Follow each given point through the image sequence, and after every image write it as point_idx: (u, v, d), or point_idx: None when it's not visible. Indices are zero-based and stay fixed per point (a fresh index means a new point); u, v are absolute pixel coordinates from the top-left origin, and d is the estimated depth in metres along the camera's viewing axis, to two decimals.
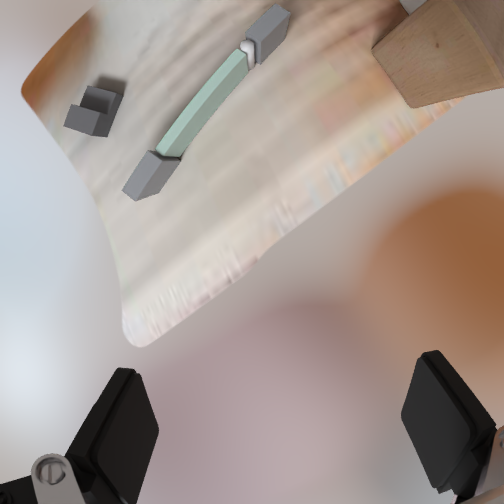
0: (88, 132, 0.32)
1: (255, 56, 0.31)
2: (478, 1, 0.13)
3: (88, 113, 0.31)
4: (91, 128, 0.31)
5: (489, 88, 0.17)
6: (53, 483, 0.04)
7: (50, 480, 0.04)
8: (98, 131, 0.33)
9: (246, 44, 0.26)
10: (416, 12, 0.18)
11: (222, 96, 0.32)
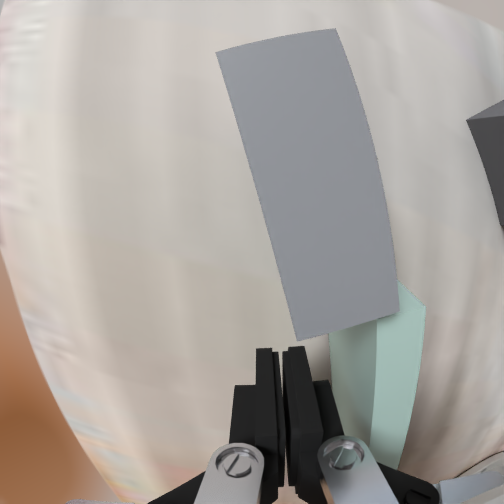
0: None
1: None
2: None
3: None
4: None
5: None
6: (230, 473, 0.06)
7: (229, 469, 0.06)
8: None
9: None
10: None
11: None
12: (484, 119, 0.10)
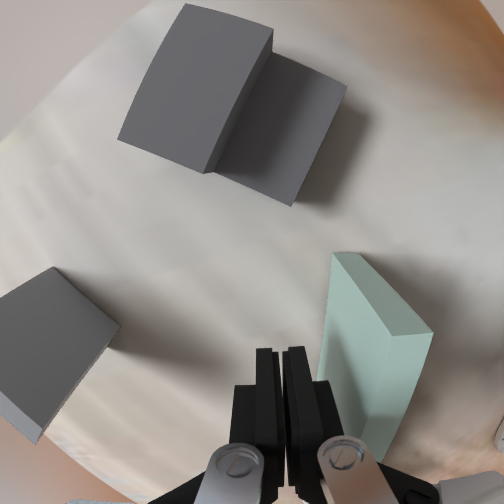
0: (130, 122, 0.08)
1: None
2: None
3: (210, 114, 0.08)
4: (143, 135, 0.08)
5: None
6: (230, 473, 0.06)
7: (229, 468, 0.06)
8: None
9: None
10: None
11: None
12: None
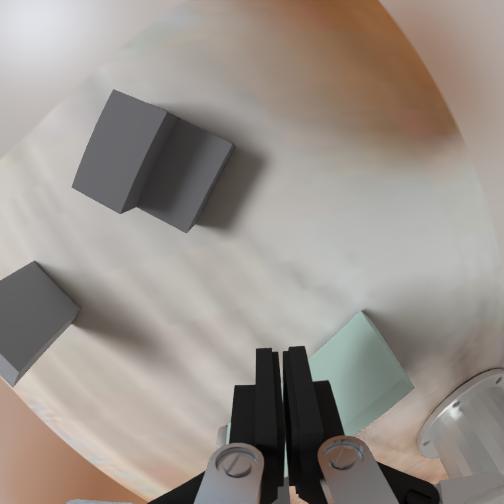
0: (79, 177, 0.12)
1: None
2: None
3: (124, 175, 0.12)
4: (87, 186, 0.13)
5: None
6: (230, 472, 0.06)
7: (229, 469, 0.06)
8: None
9: None
10: None
11: None
12: None
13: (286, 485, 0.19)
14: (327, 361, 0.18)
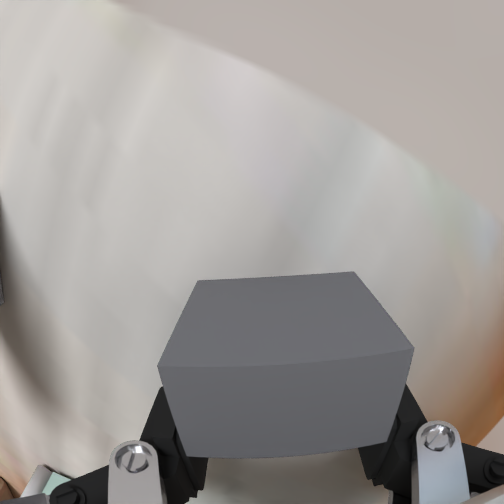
0: (191, 377, 0.05)
1: None
2: None
3: (253, 446, 0.06)
4: (185, 397, 0.06)
5: None
6: (131, 470, 0.05)
7: (129, 467, 0.05)
8: None
9: None
10: None
11: None
12: None
13: None
14: None
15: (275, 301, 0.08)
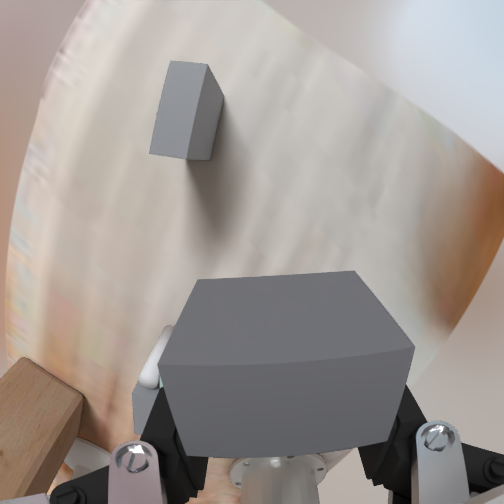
0: (191, 375, 0.05)
1: None
2: None
3: (253, 445, 0.06)
4: (185, 396, 0.06)
5: None
6: (131, 470, 0.05)
7: (129, 466, 0.05)
8: None
9: (146, 383, 0.19)
10: (31, 478, 0.16)
11: None
12: None
13: None
14: None
15: (275, 300, 0.08)
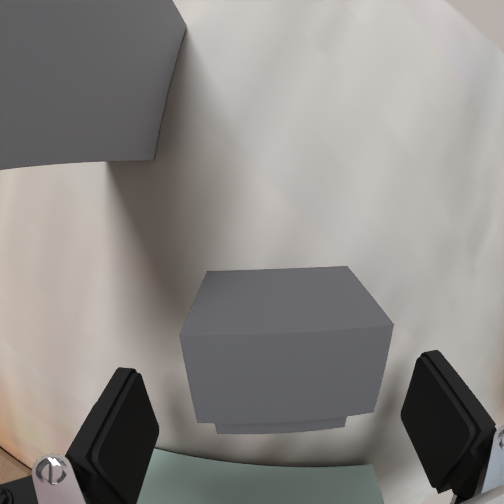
0: (207, 344, 0.07)
1: None
2: None
3: (257, 411, 0.07)
4: (201, 364, 0.07)
5: None
6: (53, 482, 0.04)
7: (51, 480, 0.04)
8: None
9: None
10: None
11: (214, 492, 0.11)
12: None
13: None
14: (321, 490, 0.12)
15: (276, 286, 0.09)
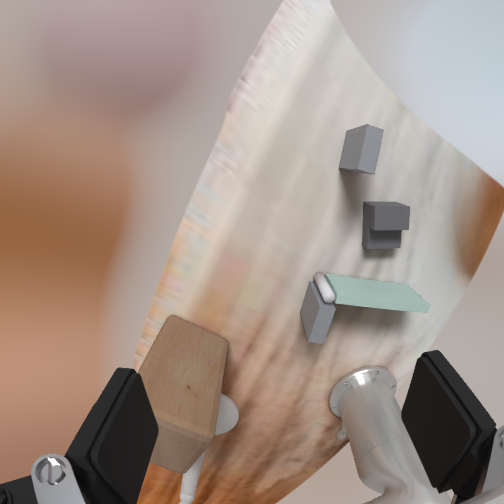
0: (379, 208, 0.35)
1: (317, 287, 0.40)
2: (183, 448, 0.27)
3: (386, 226, 0.36)
4: (377, 213, 0.35)
5: None
6: (53, 482, 0.04)
7: (50, 480, 0.04)
8: (371, 209, 0.36)
9: (328, 299, 0.35)
10: (218, 402, 0.32)
11: (361, 283, 0.40)
12: (367, 203, 0.38)
13: None
14: (394, 287, 0.40)
15: (383, 203, 0.38)
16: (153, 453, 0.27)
